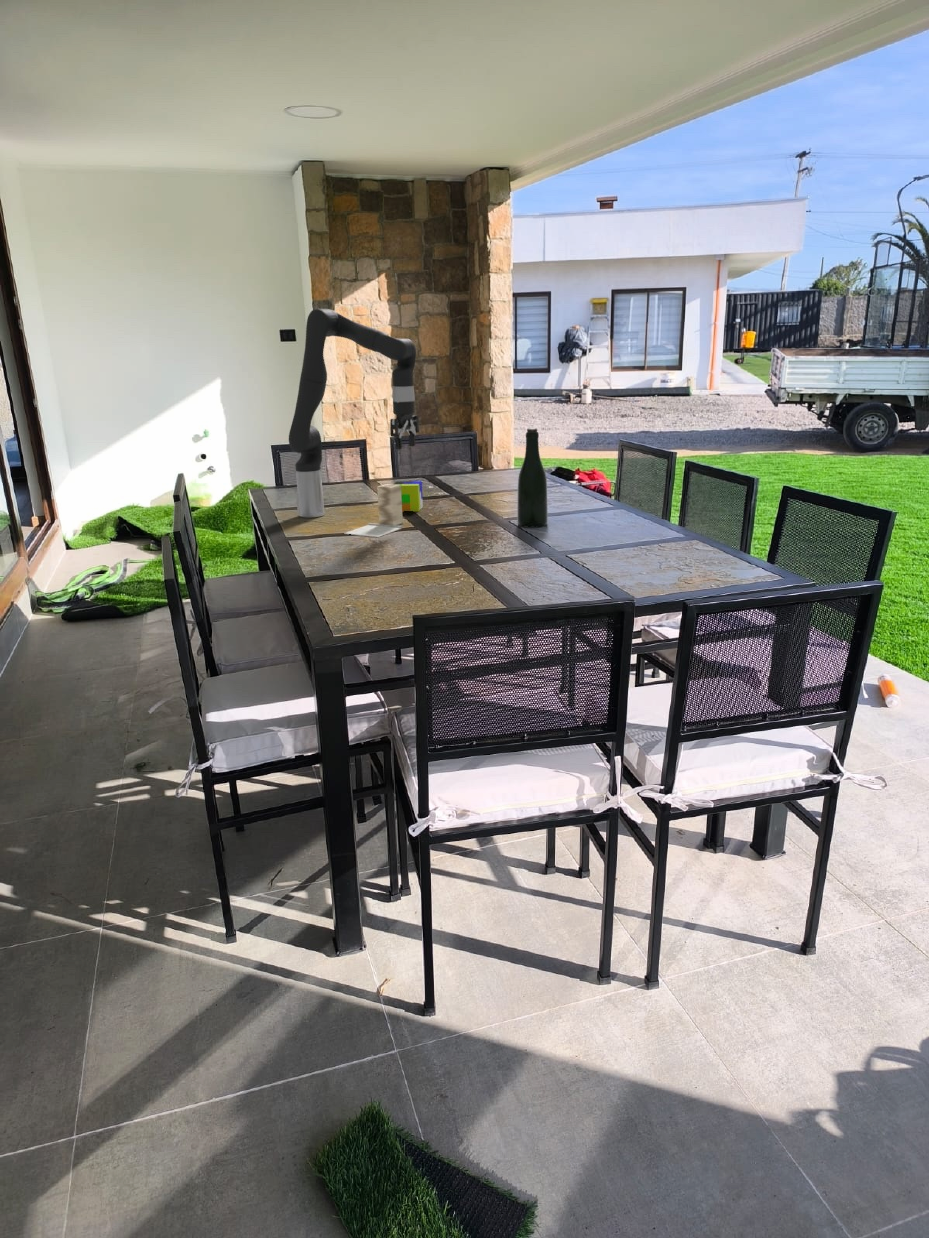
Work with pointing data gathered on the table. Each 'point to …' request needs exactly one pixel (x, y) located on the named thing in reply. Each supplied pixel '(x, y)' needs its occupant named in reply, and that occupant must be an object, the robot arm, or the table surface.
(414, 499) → the puzzle toy
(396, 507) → the maple block
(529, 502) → the green wine bottle
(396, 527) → the mat
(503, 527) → the table surface
